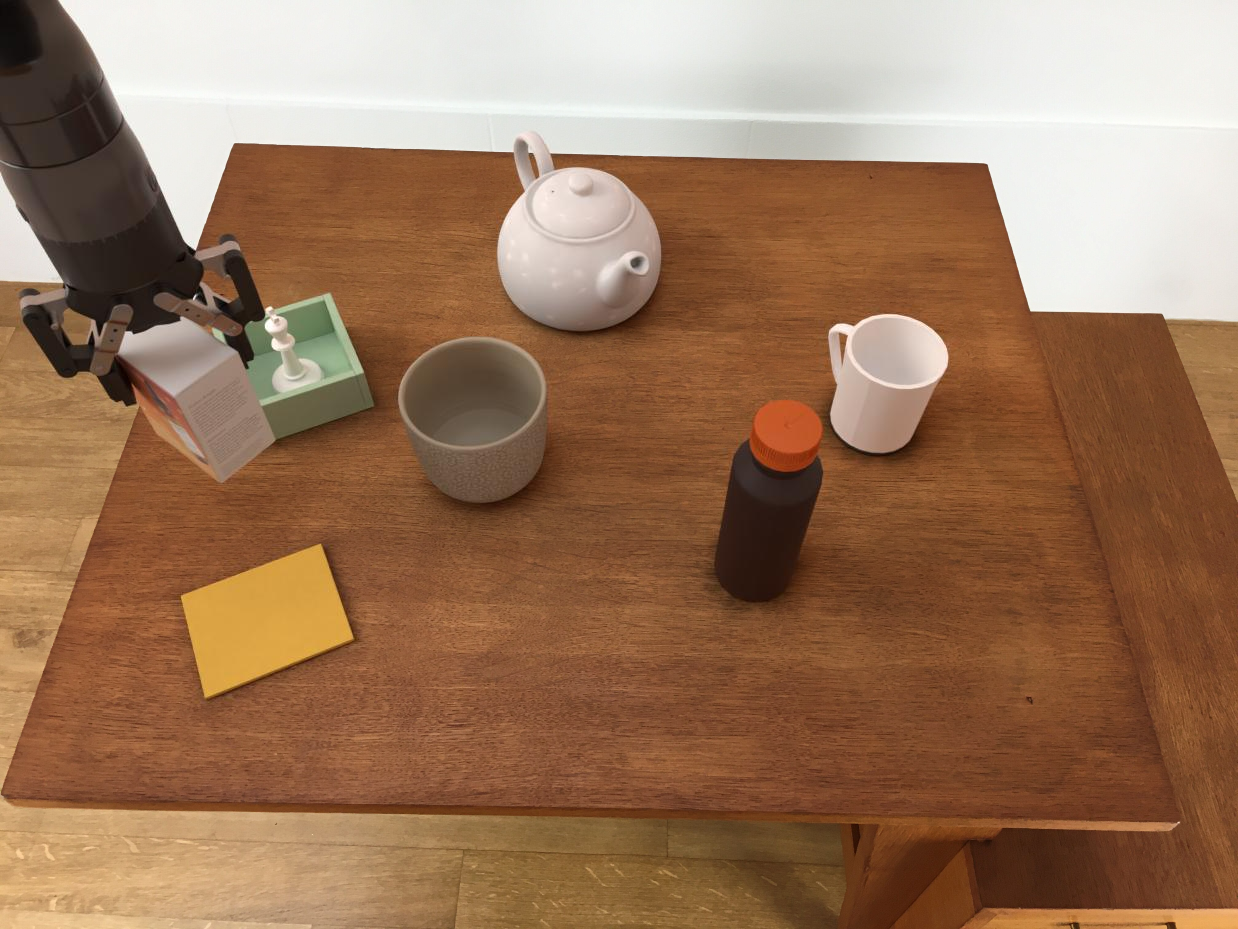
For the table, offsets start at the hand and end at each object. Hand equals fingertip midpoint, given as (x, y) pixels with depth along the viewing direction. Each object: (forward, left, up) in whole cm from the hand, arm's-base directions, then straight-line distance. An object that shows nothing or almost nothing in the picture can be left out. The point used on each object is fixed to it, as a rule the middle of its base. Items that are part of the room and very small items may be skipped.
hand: (186, 379), depth 70 cm
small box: (0, 0, -7) cm, 7 cm away
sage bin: (+7, +14, -19) cm, 25 cm away
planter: (+20, -3, -19) cm, 28 cm away
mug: (+55, -13, -19) cm, 60 cm away
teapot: (+38, +16, -19) cm, 46 cm away
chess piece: (+7, +14, -19) cm, 25 cm away
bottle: (+37, -23, -19) cm, 48 cm away
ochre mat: (-2, -10, -19) cm, 22 cm away
